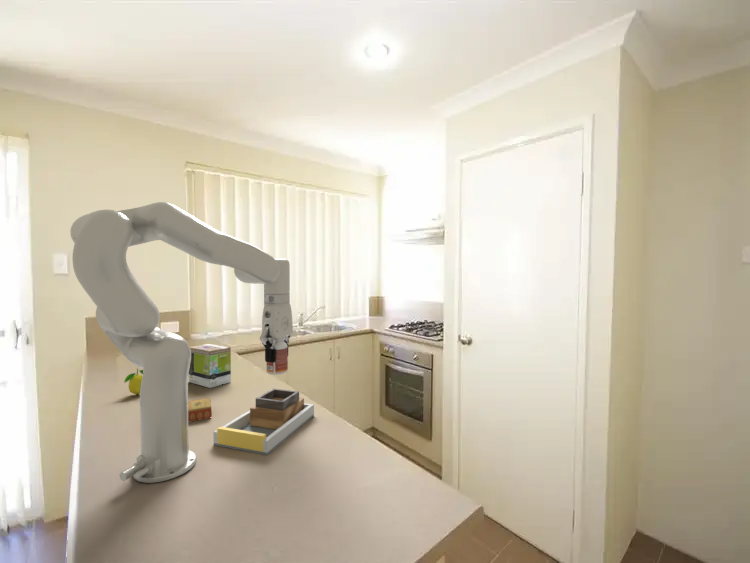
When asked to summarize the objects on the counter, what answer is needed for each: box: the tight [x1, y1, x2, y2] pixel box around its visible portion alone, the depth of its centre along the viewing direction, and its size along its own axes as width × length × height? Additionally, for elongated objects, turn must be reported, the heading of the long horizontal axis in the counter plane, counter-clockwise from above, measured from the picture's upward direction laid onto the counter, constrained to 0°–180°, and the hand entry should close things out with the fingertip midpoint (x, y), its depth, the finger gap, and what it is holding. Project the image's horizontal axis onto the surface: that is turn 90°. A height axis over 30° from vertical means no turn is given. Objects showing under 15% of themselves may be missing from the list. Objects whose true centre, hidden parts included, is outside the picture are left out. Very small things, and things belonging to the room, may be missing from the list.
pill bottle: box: [266, 336, 289, 376], centre depth 106 cm, size 6×6×11 cm
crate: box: [249, 388, 305, 429], centre depth 107 cm, size 12×11×8 cm
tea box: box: [188, 343, 232, 389], centre depth 144 cm, size 15×10×15 cm
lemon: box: [123, 367, 143, 396], centre depth 129 cm, size 7×6×10 cm
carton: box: [188, 397, 213, 423], centre depth 109 cm, size 8×16×4 cm, turn 117°
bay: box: [213, 402, 315, 456], centre depth 102 cm, size 25×16×5 cm, turn 163°
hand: (277, 358), depth 106 cm, fingers closed on pill bottle, 6 cm apart
